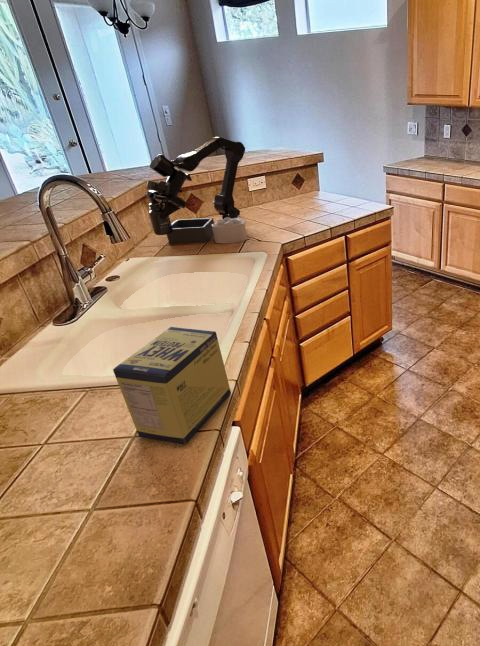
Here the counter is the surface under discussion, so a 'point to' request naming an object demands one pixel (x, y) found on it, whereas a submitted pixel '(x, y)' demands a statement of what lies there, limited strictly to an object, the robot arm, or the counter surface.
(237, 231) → the white rounded block
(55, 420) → the counter surface
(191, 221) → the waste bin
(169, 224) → the supplement bottle
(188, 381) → the protein box
